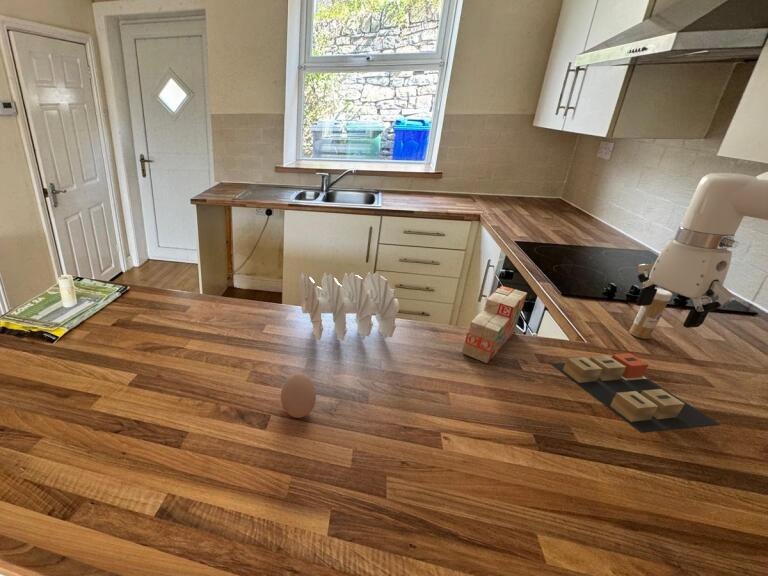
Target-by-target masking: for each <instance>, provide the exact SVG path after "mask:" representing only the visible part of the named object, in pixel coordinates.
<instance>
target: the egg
mask: <svg viewBox="0 0 768 576" xmlns="http://www.w3.org/2000/svg"><path fill="white" fill-rule="evenodd" d="M316 400H317V392H316V387H315V385H314V382H313V381H312V379H311V378H310V376H308V374H305V373H303V372H295V373H292V374H291V375H289V376H288V377H287V379H286V380H285V381H284V383H283V385H282V387H281V392H280V402H281V405H282V408H283V410H284V411H285V412H286V414H288V415H289V416H291V417H293V418H296V419H299V418H300V419H302V418H304V417H306V416H308V415H309V414H310V413H311V412H312V411H313V409H314V406H315V405H316Z"/></svg>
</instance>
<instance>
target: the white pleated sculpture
mask: <svg viewBox="0 0 768 576" xmlns="http://www.w3.org/2000/svg"><path fill="white" fill-rule="evenodd" d="M298 279H299V280H298V288H299V289H298V290H299V295H300V300H301V301H300V302H301V303H300V304H301V307H300V308H301V312H302V314H309V318H310V319H309V320H310V323H311V324H312V334H313V335H314V340H315V341H321V339H322V335H323V331H324V327H323V323H322V322H323V319H322V314H332V322H333V323H334V325H333V331H334V332H335V334H336V340H337V341H339V340H340V341H342V342H343V341H344V340H345V337H346V334H347V332H348V328H347V319H346V318H347V314H351V315H352V314H353V315H354V314H355V318H354V320H355V323H356V326H357V331H356V332H357V334H359V335H361V339H362V340H365V339H366V338H367V337H370V335H371V332H372V329H373V326H374V323H373V321H372V318H373V317H372V316H373V315H375V319H376V322H377V324H378V327H377V332H380V333H381V334H382V337H383V339H387V338H392V337H393V334H394V332H395V330H396V328H397V324H396V317H397V316H396V315H397V314H398V313H399V311H400V302H399V300H398V299H397V298H396V289H393V288H392V287H391V285H390V284H388V282H389V281H388V279H386V278H385V277H384V276H382V275H380V271H378V270H377V271H376V272H374V273H372V274H371V271H368V272H367V274H366V275H365V278H363V277H361V276H359V275H358V274H356V270H353V271H352V272H350V273H349V274H348V272H345V273H344V275H343V278H342V281H341V284H340V283H339V281H338V280H337V278H335V274H334V273H331V274H328V273H327V272H324V273H323V275H322V278H321V281H320V284H321V287H320V286H316V282H315V281H314V279H313V278H312V277H311V276H310V272H308V273H305V275H304V273H303V272H300V276H299V278H298Z"/></svg>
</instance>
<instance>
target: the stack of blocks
mask: <svg viewBox="0 0 768 576" xmlns="http://www.w3.org/2000/svg"><path fill="white" fill-rule="evenodd" d="M527 296H528V292H525V291H522V290H519V289H515V288H511V287H508V286H504V285H501V286H500V287H498V288H497V289H496V290H495V291H494V292H493V293H491V294H490V296H488V298H487V299H486V302H485V305H484V308H483V310H482V311H481V312H480V313H478V314H477V315H476V316H475V317H474V318H473V320H471V321H470V324H469V328H468V332H466V336H465V340H464V343H463V344H464V345H463V347H462V350H461V354H464V355H465V356H468V357H471V358H473V359H476V360H478V361H481V362H482V363H485V364H488V363H489V362H490V361H491V359H493V358H494V356H495V355H496V354H497V353H498V352H499V351H500V349H501V348H502V347H503V346H504V345H505V343H506V342H507V341H508V340H509V339H510V338H511V337H512V336H513V335H514V333H515V332H516V329H517V326H518V322H519V318H520V316H521V313H522V311H523V308H524V305H525V302H526V299H527ZM498 350H499V351H498Z"/></svg>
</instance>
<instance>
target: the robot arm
mask: <svg viewBox="0 0 768 576" xmlns="http://www.w3.org/2000/svg"><path fill="white" fill-rule="evenodd" d="M745 217H750V218H755V219H760V220H766V221H768V171H765V172H763V173H760V174H758V175H756V176H753V175H750V174H743V173H735V172H712V173H708V174H706V175H704V176H703V177H701V179H700V180H699V183H698V184H697V187H696V189H695V191H694V193H693V196H692V198H691V200H690V202H689V204H688V207H687V208H686V211H685V214H684V216H683V218H682V220H681V222H680V224H679V227H678V229H677V231H676V232H675V236H674V238H672V239H671V238H670V240H669V241H668V242H667V243H666V245H665V246H664V247H663V248H662V250H661V252H660V254H659V255H658V256H657V258H656V260H655V262H653V263H642V264H638V265H637V274H638V275H637V278H638V281H639V283H640V284H639V287H640V289H641V290H640V292H639V294H638V296H637V300H636V303H635V305H636V306H638V307H641V306H646V305H651V303H652V301H653V299H654V297H655V295H656V292H657V289H656V288H658V287H660V288H661V289H664V290H667V291H669V292H673V293H675V294H677V295H680V296H683V297H686V298H689V299H691V301H692V303H693V306H694V308H692V309H690V310H689V313H688V314H687V315H686V318H685V320H684V322H683V324H682V326H683V327H684V328H686V329H689V328H699V327H700V326H701V325H703V323H704V321H705V320H706V318H707V316H708V314H709V312H712V311H715V310H719V309H722V308H725V307H726V306H728V305H729V304H731V303H732V302H734V301H735V300H736V296H735V295H734V294H733V293H732V292H730V291H729V290H728V289H727V287H725V285H724V282H725V280H726V277H727V275H728V272H729V269H730V265H731V261H732V256H733V255H732V253H733V251H732V250H729V249H730V248H731V249H735V248H737V247H738V246H739V244H740V242H739V241H738V240H735V237H736V233H737V231H738V229H739V227H740V225H741V223H742V221H743V219H744V218H745ZM649 271H650V272H649ZM717 297H718V298H717ZM712 298H717V299H716V300H715V301H713V299H712Z"/></svg>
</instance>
